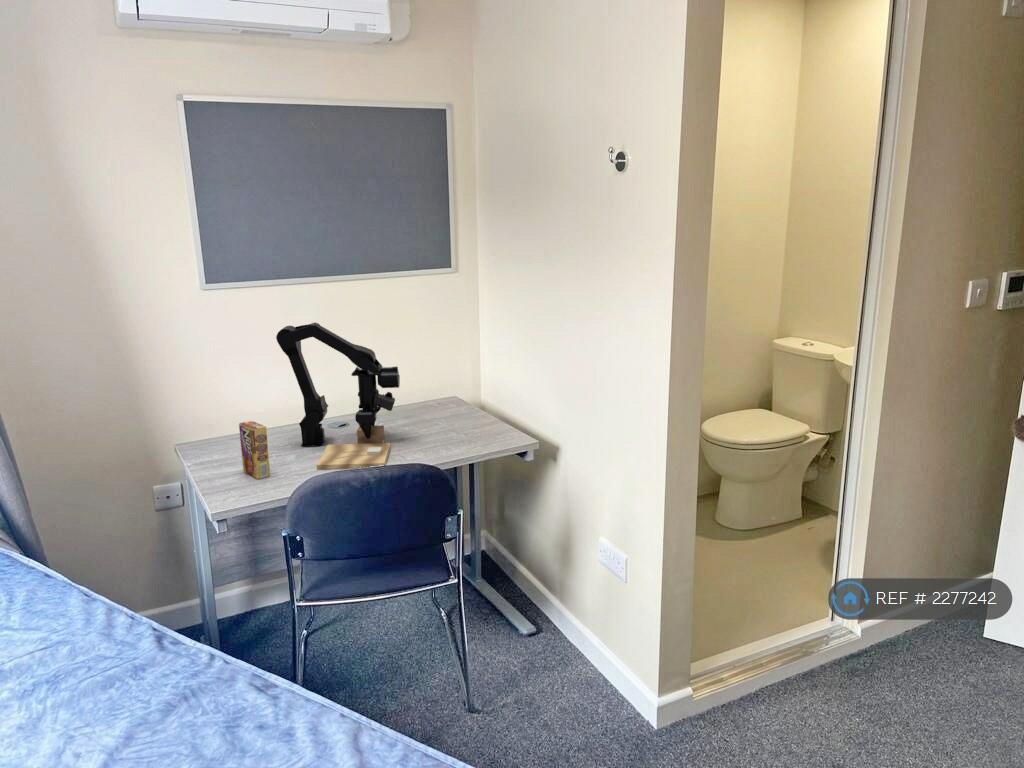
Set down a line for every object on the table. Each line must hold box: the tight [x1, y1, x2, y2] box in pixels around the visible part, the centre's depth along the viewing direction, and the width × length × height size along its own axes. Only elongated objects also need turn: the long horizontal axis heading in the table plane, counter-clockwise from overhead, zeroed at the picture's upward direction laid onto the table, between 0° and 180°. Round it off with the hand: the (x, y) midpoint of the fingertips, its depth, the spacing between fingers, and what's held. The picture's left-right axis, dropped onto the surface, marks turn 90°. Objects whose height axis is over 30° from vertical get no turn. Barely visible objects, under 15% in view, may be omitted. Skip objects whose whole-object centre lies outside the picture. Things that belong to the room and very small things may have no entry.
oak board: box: [316, 442, 391, 471], centre depth 232 cm, size 20×18×2 cm
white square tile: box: [367, 447, 382, 455], centre depth 232 cm, size 4×4×1 cm
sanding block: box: [356, 425, 385, 444], centre depth 246 cm, size 8×5×5 cm, turn 91°
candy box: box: [238, 420, 271, 480], centre depth 218 cm, size 9×4×15 cm, turn 47°
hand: (370, 433), depth 246 cm, fingers open, 9 cm apart
